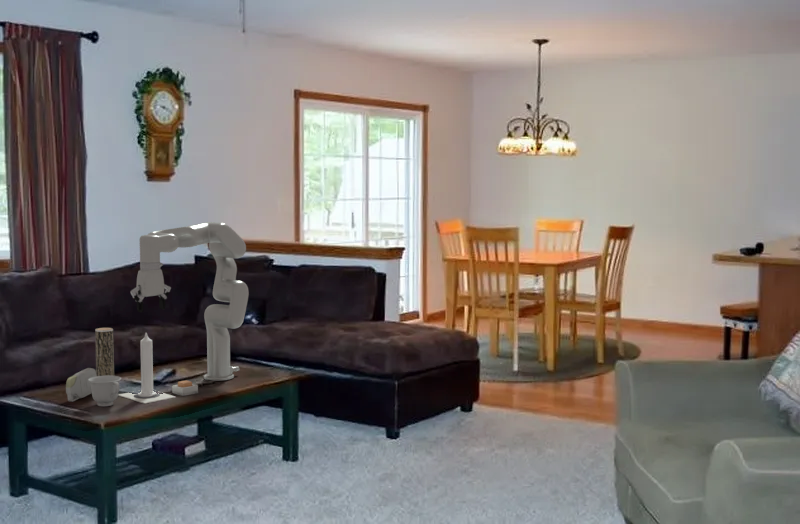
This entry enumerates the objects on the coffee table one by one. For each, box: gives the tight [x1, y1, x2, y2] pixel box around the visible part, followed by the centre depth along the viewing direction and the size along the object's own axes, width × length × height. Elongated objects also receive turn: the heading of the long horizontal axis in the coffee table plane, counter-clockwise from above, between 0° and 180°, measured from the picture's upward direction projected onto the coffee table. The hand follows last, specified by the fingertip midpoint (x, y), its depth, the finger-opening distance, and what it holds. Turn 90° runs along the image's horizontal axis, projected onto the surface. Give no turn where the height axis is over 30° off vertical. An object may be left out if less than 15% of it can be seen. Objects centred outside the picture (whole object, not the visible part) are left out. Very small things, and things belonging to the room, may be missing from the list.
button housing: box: [171, 383, 199, 397], centre depth 390 cm, size 7×7×3 cm
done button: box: [177, 379, 193, 388], centre depth 390 cm, size 4×4×2 cm
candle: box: [138, 332, 157, 397], centre depth 383 cm, size 7×7×25 cm
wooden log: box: [94, 327, 115, 376], centre depth 392 cm, size 7×7×25 cm
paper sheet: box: [117, 392, 177, 405], centre depth 384 cm, size 14×19×1 cm
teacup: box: [88, 375, 122, 407], centre depth 369 cm, size 12×15×10 cm
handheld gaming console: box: [65, 367, 96, 402], centre depth 381 cm, size 11×3×15 cm
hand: (151, 310), depth 382 cm, fingers open, 9 cm apart
